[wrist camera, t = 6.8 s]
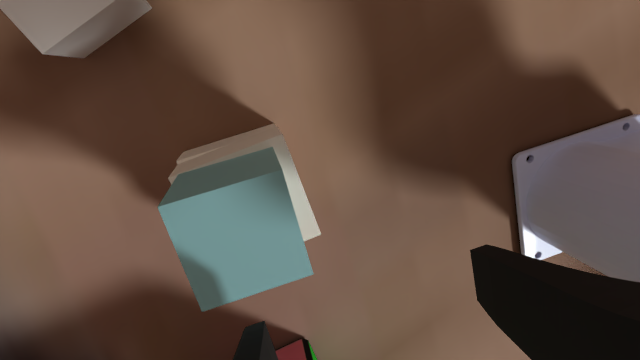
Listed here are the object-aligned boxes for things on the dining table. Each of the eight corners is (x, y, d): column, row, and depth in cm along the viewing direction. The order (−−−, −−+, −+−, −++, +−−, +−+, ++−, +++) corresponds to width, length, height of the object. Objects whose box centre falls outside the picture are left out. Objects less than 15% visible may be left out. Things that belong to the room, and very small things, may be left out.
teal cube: (272, 146, 16) (281, 169, 12) (297, 229, 17) (313, 274, 13) (178, 174, 15) (157, 206, 12) (211, 257, 17) (201, 312, 13)
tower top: (277, 126, 18) (282, 133, 16) (311, 215, 20) (321, 234, 17) (177, 164, 18) (167, 178, 15) (221, 251, 19) (218, 276, 17)
